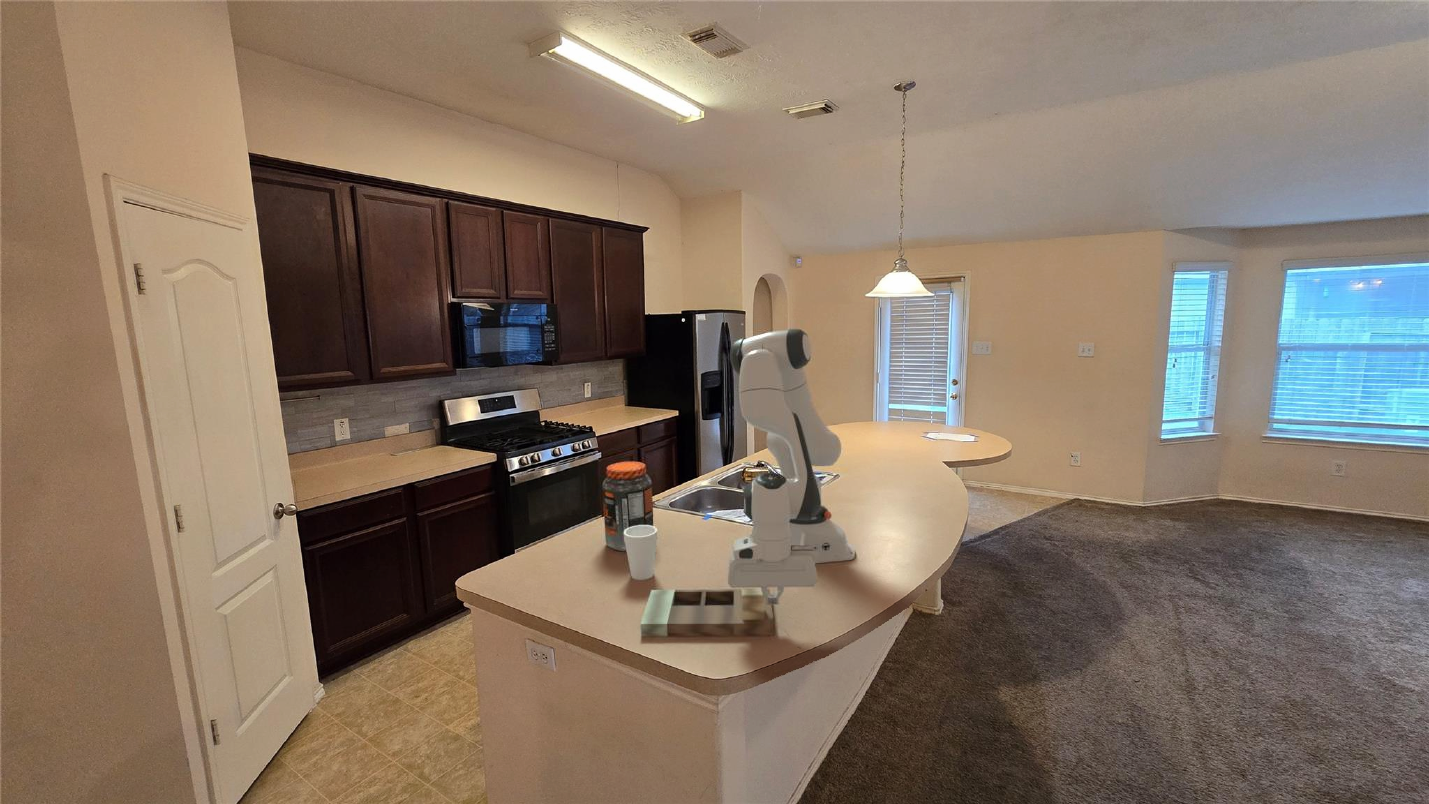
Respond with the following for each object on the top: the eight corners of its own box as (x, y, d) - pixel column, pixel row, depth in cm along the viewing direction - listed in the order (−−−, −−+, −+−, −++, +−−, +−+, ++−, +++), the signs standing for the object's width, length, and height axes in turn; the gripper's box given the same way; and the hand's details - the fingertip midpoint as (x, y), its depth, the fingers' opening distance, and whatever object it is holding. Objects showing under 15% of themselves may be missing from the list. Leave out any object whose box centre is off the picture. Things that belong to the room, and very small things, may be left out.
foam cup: (665, 571, 156) (664, 528, 154) (645, 585, 148) (643, 539, 146) (639, 565, 161) (637, 522, 159) (618, 578, 153) (616, 533, 151)
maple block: (763, 608, 128) (763, 588, 128) (764, 619, 123) (764, 598, 123) (742, 608, 128) (741, 588, 128) (742, 619, 124) (741, 599, 123)
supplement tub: (608, 535, 185) (604, 461, 181) (655, 533, 186) (651, 458, 182) (602, 554, 169) (597, 473, 166) (653, 551, 170) (649, 471, 167)
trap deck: (769, 600, 138) (769, 589, 138) (774, 635, 122) (773, 623, 122) (651, 601, 139) (651, 590, 139) (641, 636, 123) (640, 624, 123)
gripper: (815, 539, 126) (815, 596, 128) (727, 541, 127) (728, 597, 129) (819, 550, 120) (820, 610, 122) (726, 552, 121) (728, 610, 122)
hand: (772, 603), depth 125 cm, fingers closed
